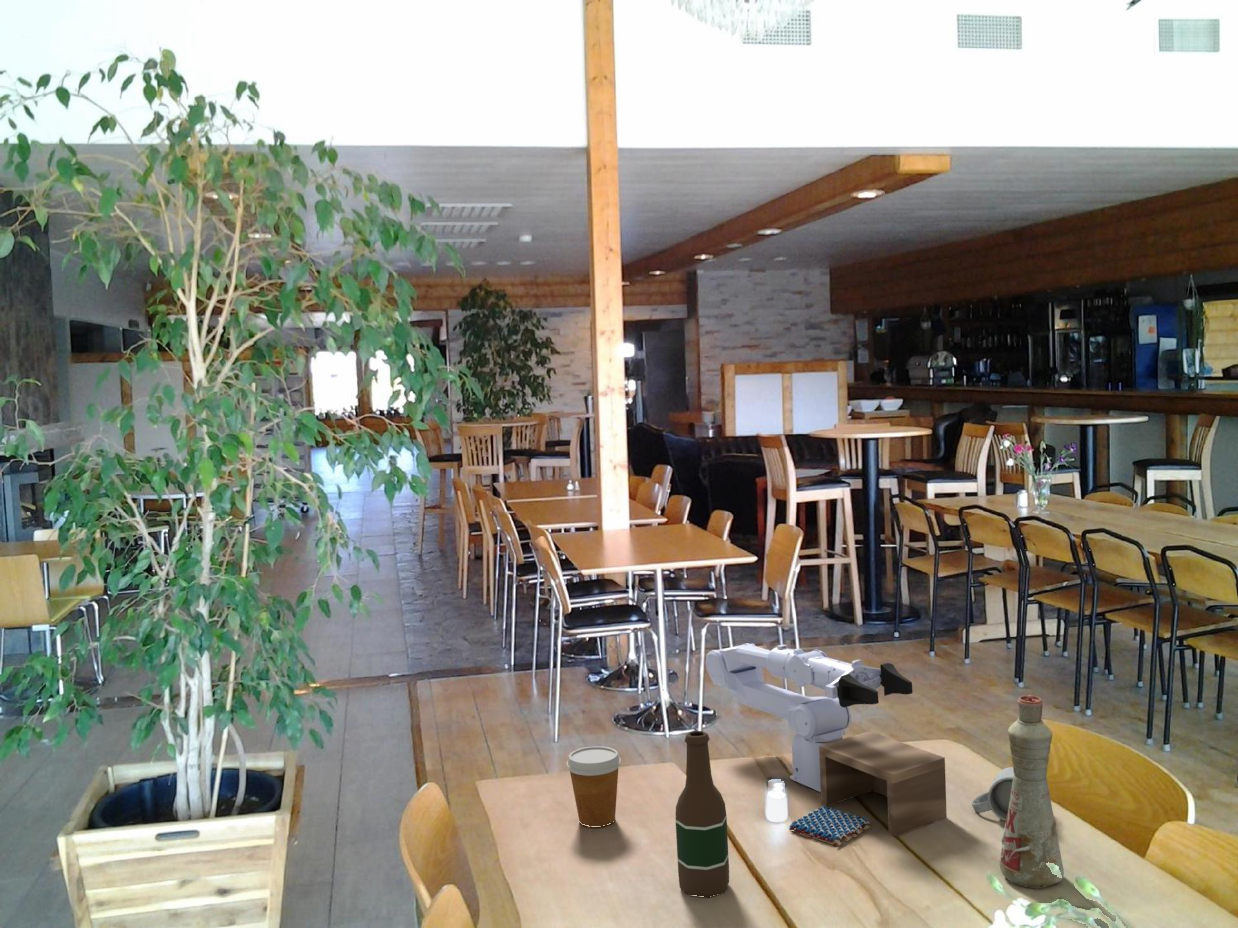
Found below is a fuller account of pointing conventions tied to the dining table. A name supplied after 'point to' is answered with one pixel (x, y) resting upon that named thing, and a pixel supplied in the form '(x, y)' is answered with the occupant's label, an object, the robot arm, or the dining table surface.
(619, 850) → the dining table surface
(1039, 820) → the bottle
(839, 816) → the woven mat
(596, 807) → the disposable coffee cup
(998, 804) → the ceramic mug
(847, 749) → the walnut open box
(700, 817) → the beer bottle
